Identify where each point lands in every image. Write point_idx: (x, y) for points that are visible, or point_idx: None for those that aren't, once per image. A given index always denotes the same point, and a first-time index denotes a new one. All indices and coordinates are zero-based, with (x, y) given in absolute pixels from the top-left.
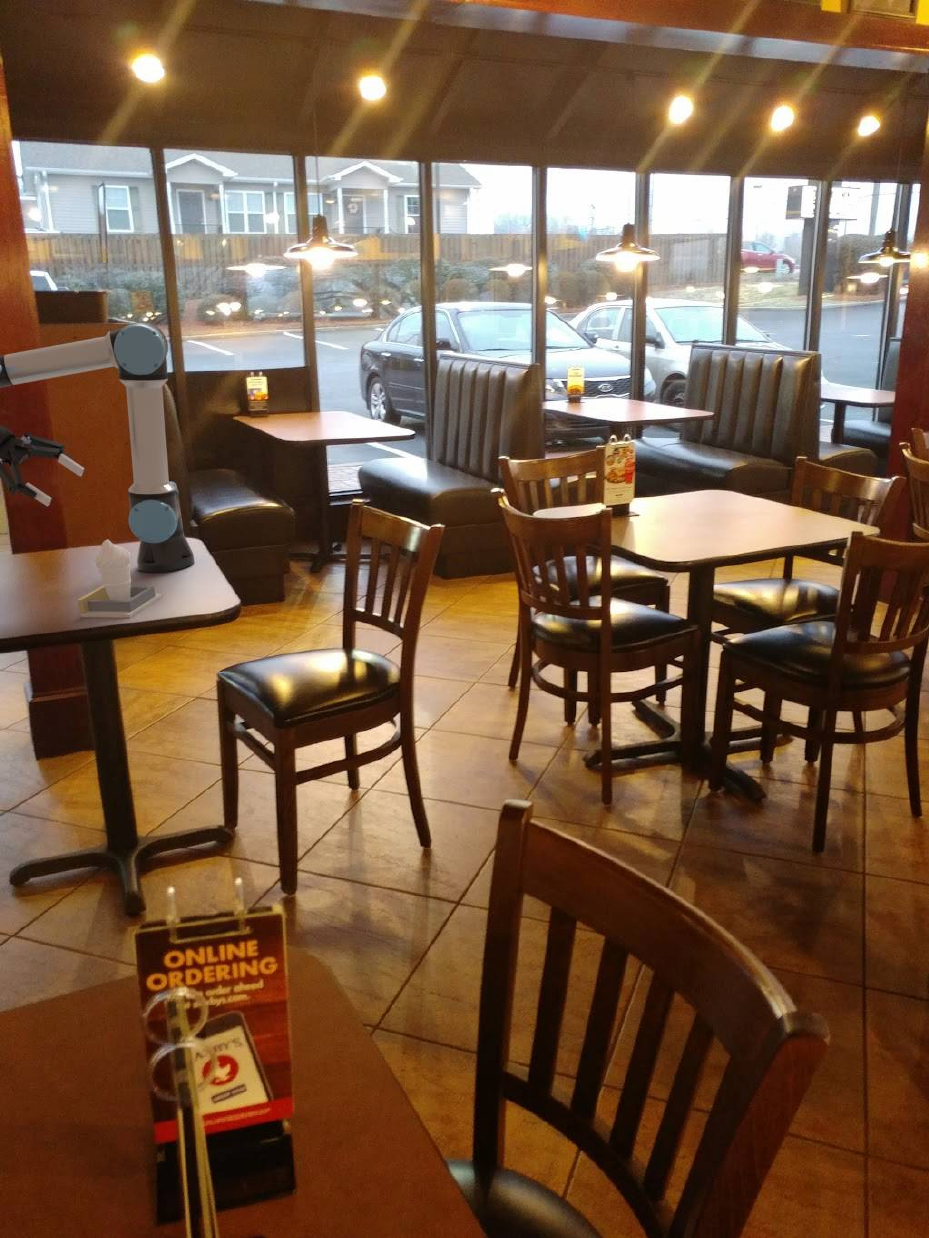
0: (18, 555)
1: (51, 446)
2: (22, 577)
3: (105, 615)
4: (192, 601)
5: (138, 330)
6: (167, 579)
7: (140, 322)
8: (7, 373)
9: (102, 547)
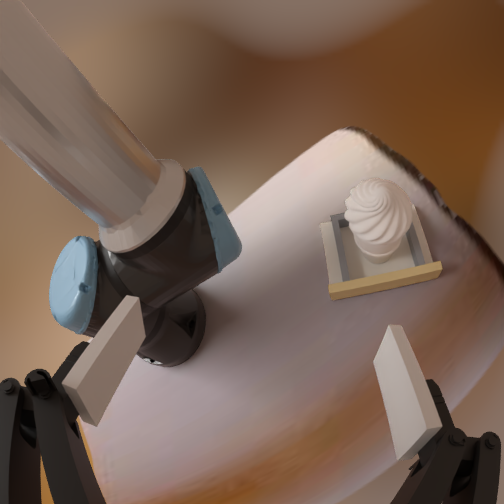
0: None
1: (21, 449)
2: None
3: (425, 238)
4: (329, 176)
5: None
6: (236, 276)
7: None
8: None
9: (394, 201)
